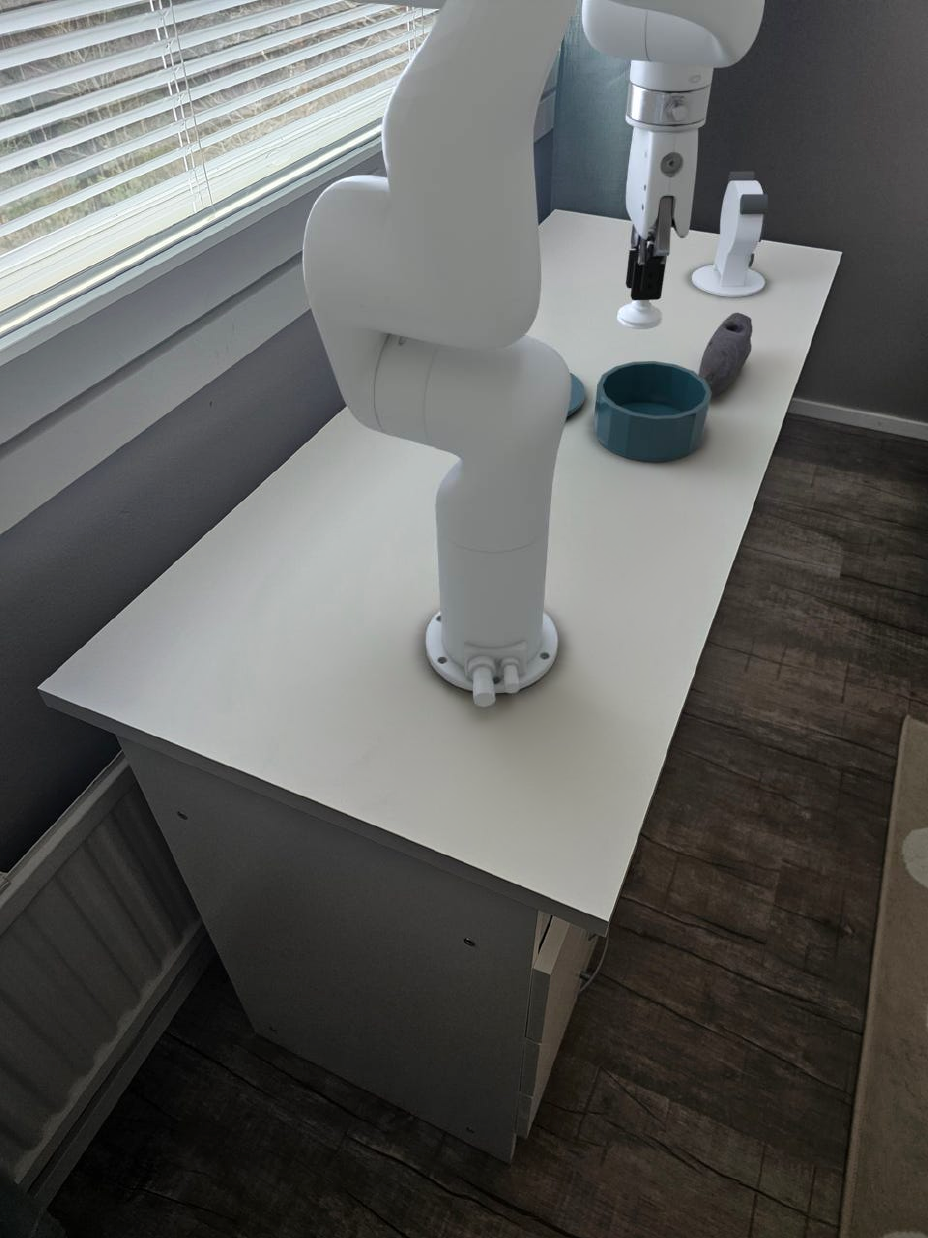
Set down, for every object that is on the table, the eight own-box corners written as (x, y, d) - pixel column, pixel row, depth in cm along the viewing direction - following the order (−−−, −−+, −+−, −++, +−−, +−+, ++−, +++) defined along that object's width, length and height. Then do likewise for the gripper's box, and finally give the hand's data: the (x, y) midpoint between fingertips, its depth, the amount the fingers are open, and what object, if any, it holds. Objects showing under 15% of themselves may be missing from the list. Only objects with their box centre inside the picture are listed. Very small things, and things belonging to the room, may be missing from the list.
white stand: (772, 298, 137) (796, 196, 127) (698, 298, 138) (716, 197, 127) (756, 265, 146) (777, 168, 135) (686, 266, 146) (702, 168, 136)
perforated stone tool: (719, 412, 114) (729, 363, 109) (680, 402, 116) (688, 353, 111) (753, 361, 123) (764, 314, 118) (716, 353, 125) (725, 305, 120)
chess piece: (670, 317, 99) (684, 225, 92) (645, 333, 96) (657, 240, 89) (633, 304, 101) (645, 214, 94) (608, 319, 99) (617, 227, 92)
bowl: (713, 459, 107) (723, 416, 102) (602, 464, 106) (607, 420, 102) (688, 401, 116) (696, 359, 112) (586, 405, 116) (590, 362, 112)
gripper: (728, 127, 78) (694, 325, 91) (687, 79, 89) (661, 261, 102) (644, 130, 78) (621, 328, 91) (613, 81, 89) (597, 263, 102)
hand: (642, 291), depth 96 cm, fingers closed on chess piece
